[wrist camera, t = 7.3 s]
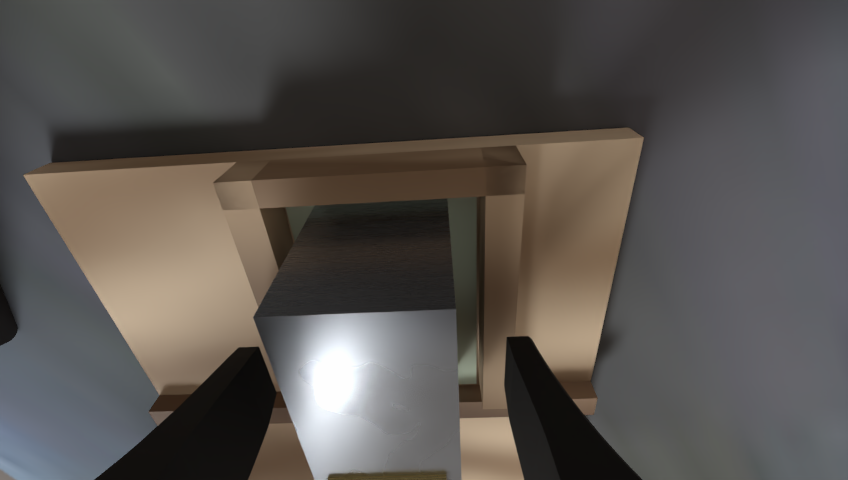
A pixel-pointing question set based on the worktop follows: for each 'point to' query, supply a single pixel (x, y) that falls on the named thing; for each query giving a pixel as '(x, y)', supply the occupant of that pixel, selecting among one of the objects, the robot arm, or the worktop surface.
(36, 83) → the worktop surface
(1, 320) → the phone stand
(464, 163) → the board
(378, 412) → the bar
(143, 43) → the worktop surface
